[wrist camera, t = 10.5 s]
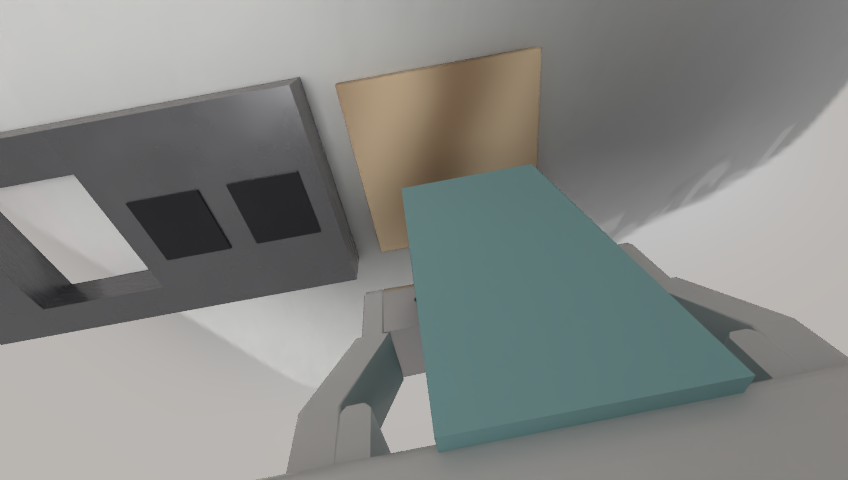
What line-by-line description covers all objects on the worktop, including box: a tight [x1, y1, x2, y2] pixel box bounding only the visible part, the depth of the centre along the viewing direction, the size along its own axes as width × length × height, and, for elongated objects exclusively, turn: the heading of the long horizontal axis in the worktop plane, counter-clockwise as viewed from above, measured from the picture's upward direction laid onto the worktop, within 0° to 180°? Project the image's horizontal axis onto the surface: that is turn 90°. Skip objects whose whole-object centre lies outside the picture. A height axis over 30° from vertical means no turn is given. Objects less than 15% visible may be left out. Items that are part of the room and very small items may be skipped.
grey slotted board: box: [0, 77, 359, 345], centre depth 17 cm, size 20×10×2 cm, turn 99°
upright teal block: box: [401, 164, 756, 452], centre depth 9 cm, size 4×4×8 cm
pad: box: [335, 47, 542, 252], centre depth 17 cm, size 9×9×1 cm
